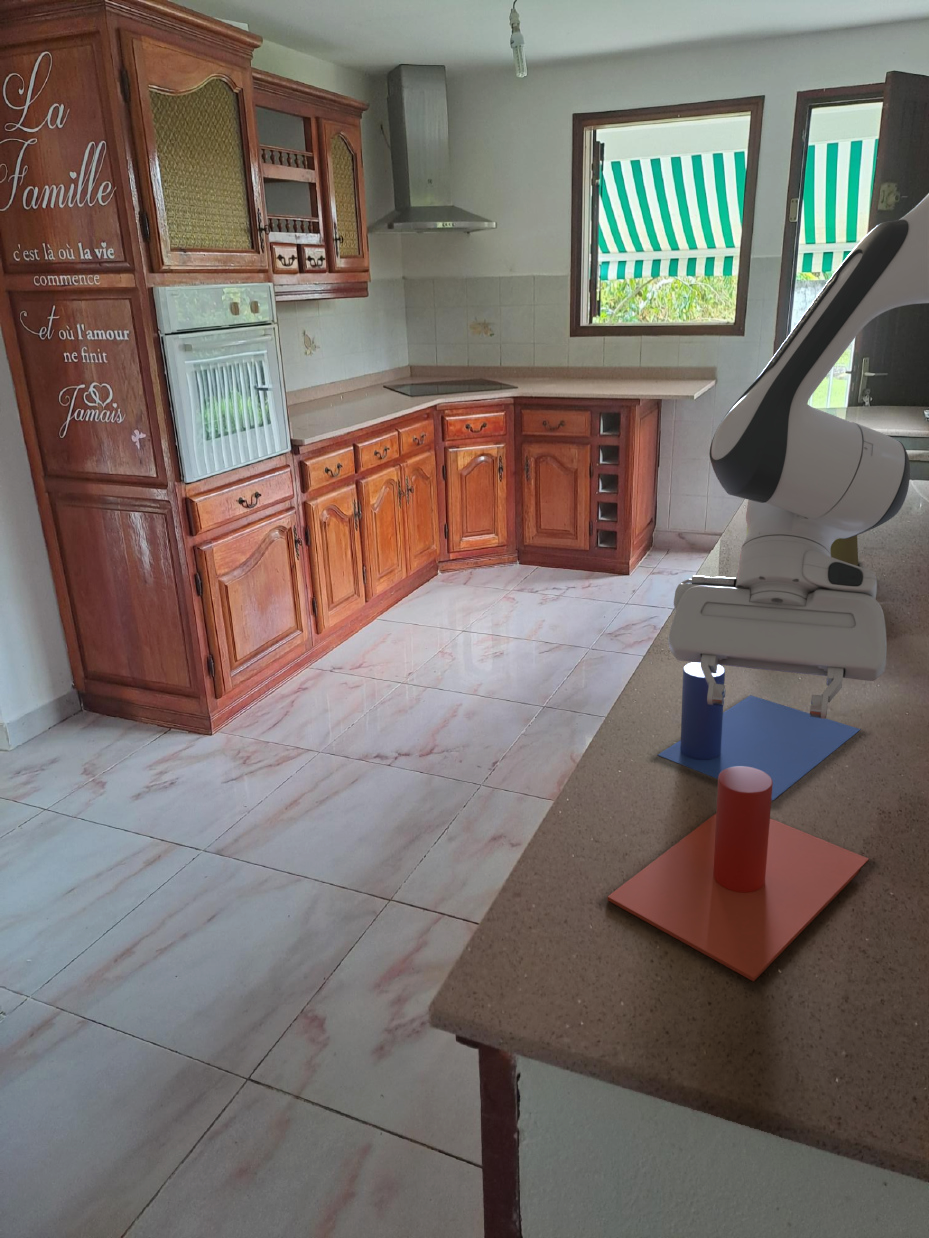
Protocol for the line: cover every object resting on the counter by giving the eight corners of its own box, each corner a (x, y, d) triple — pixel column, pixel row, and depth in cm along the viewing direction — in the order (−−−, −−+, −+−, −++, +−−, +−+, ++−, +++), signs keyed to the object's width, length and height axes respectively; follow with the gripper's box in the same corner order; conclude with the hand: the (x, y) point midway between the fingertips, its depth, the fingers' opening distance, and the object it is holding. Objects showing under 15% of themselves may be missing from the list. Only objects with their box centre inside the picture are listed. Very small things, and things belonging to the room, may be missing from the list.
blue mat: (860, 732, 101) (860, 729, 101) (772, 803, 89) (773, 800, 89) (750, 697, 111) (750, 694, 111) (657, 757, 99) (657, 754, 99)
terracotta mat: (868, 862, 79) (869, 858, 79) (753, 981, 67) (753, 977, 67) (730, 805, 89) (730, 801, 89) (607, 900, 77) (607, 896, 77)
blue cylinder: (728, 749, 99) (732, 668, 95) (706, 764, 96) (710, 681, 93) (694, 736, 102) (697, 657, 98) (672, 751, 99) (675, 670, 96)
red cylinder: (774, 875, 78) (782, 777, 74) (748, 899, 75) (755, 799, 72) (730, 855, 81) (735, 760, 77) (703, 877, 78) (708, 780, 75)
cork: (825, 556, 163) (830, 498, 159) (860, 559, 160) (867, 500, 156) (819, 565, 158) (825, 505, 154) (855, 569, 155) (862, 508, 151)
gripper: (674, 560, 91) (652, 685, 86) (893, 574, 83) (883, 712, 78) (681, 587, 96) (661, 706, 91) (888, 602, 88) (878, 734, 83)
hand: (765, 709), depth 84 cm, fingers open, 8 cm apart
